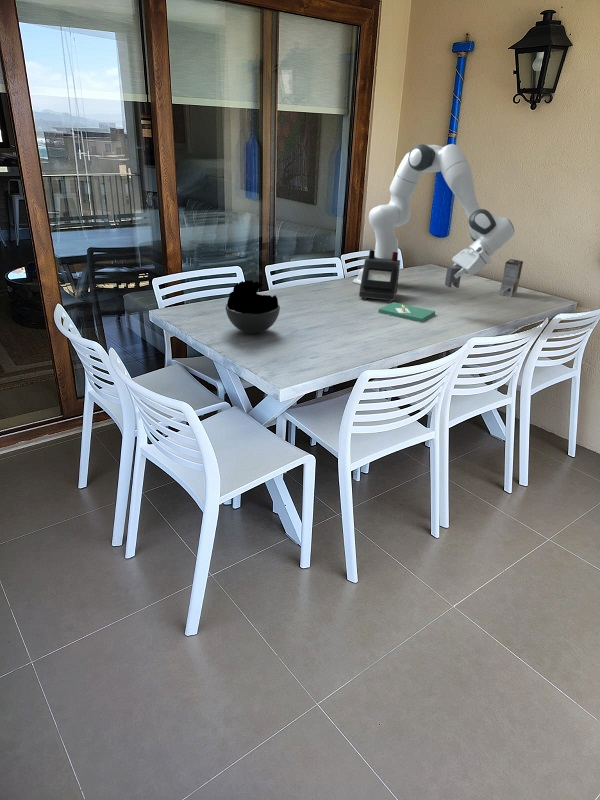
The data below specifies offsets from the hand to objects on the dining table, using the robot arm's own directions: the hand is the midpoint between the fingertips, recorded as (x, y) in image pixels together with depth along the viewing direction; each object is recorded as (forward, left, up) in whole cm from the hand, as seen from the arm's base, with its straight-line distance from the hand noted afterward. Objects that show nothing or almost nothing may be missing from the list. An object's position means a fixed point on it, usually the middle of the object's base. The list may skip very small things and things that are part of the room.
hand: (452, 275), depth 226 cm
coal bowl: (-47, -73, -17) cm, 88 cm away
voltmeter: (-35, +4, -17) cm, 40 cm away
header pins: (-14, -13, -15) cm, 25 cm away
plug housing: (0, 0, -5) cm, 5 cm away
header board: (-13, -11, -17) cm, 24 cm away
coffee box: (+11, +54, -17) cm, 58 cm away
